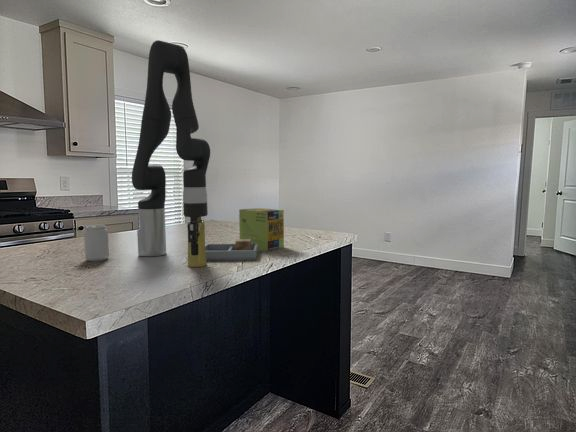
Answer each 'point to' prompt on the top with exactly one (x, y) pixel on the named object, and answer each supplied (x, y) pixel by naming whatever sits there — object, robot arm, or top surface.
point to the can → (96, 243)
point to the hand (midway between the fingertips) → (196, 253)
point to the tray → (229, 252)
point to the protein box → (262, 227)
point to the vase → (201, 257)
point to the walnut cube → (243, 244)
